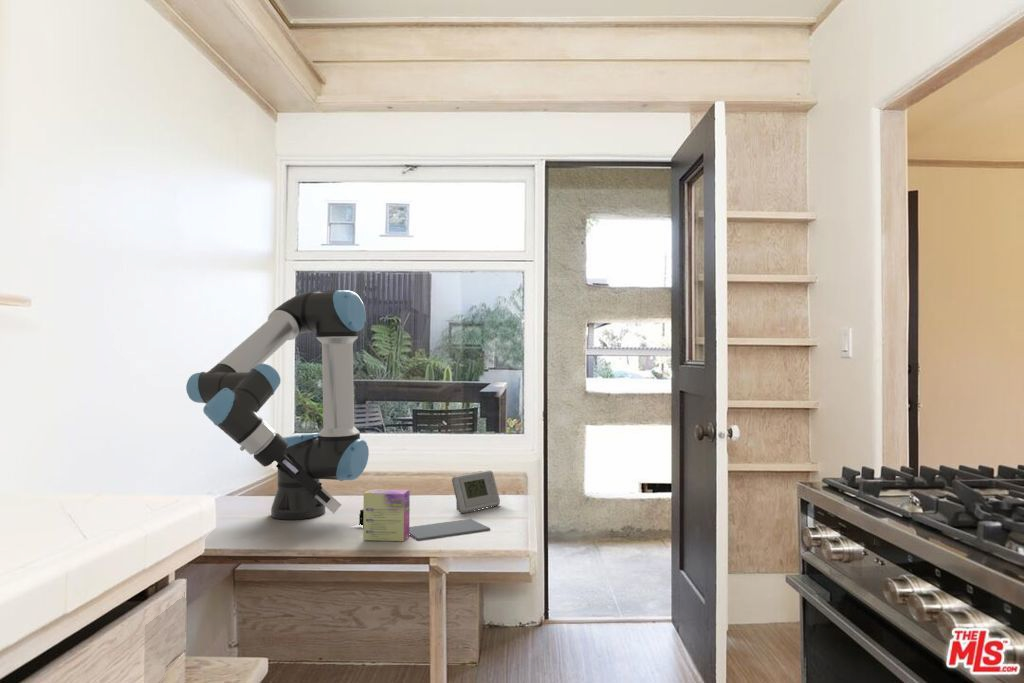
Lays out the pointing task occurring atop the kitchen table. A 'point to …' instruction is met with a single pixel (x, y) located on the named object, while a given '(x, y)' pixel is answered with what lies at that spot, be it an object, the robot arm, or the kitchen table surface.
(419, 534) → the mat
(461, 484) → the digital clock
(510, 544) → the kitchen table surface
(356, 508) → the kitchen table surface
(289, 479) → the robot arm
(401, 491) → the box
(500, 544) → the kitchen table surface
